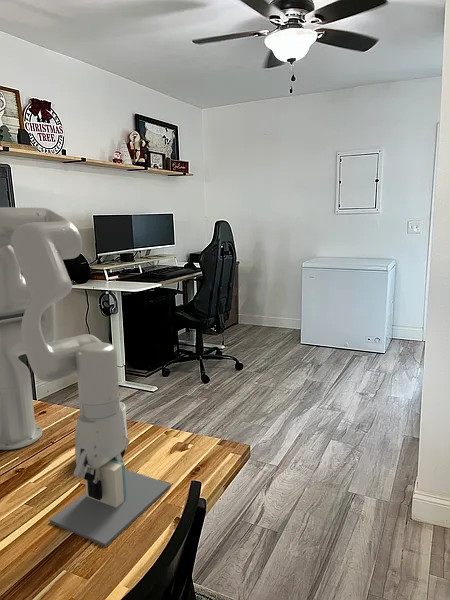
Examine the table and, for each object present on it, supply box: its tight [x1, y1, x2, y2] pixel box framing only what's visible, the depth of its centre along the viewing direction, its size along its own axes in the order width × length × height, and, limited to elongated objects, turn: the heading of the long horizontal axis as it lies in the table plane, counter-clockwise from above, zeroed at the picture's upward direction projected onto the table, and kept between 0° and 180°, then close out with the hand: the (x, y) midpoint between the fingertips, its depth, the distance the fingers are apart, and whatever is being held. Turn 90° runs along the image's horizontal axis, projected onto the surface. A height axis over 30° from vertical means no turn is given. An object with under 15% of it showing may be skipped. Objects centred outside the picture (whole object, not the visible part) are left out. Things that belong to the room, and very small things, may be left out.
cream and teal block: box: [84, 459, 126, 508], centre depth 92 cm, size 8×3×8 cm, turn 62°
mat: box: [49, 468, 172, 547], centre depth 92 cm, size 14×20×1 cm
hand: (105, 489), depth 92 cm, fingers open, 4 cm apart
